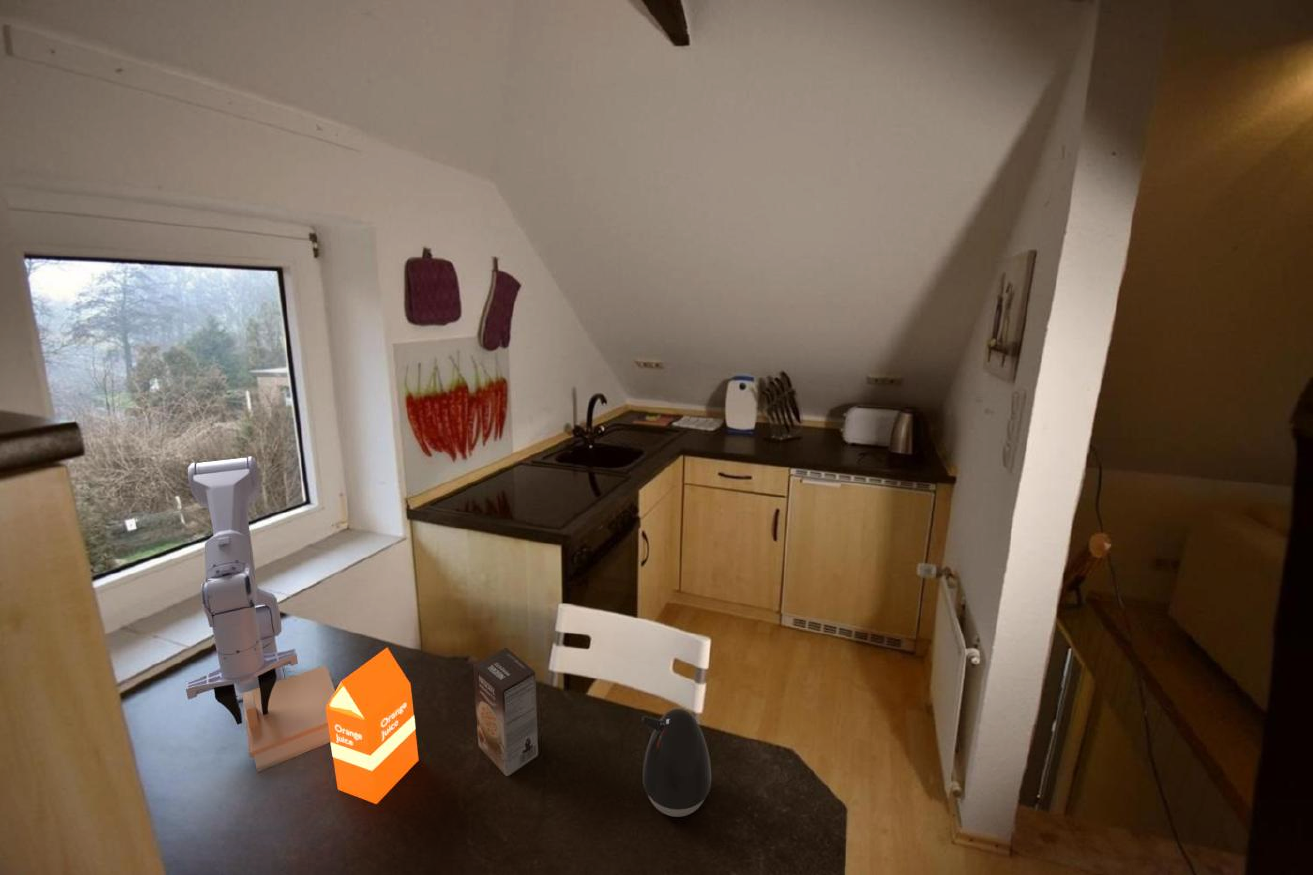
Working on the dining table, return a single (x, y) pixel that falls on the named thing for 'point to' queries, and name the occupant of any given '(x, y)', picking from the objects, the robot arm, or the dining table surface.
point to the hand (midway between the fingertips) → (252, 715)
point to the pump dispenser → (676, 764)
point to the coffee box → (506, 710)
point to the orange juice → (372, 728)
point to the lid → (288, 710)
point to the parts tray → (292, 749)
